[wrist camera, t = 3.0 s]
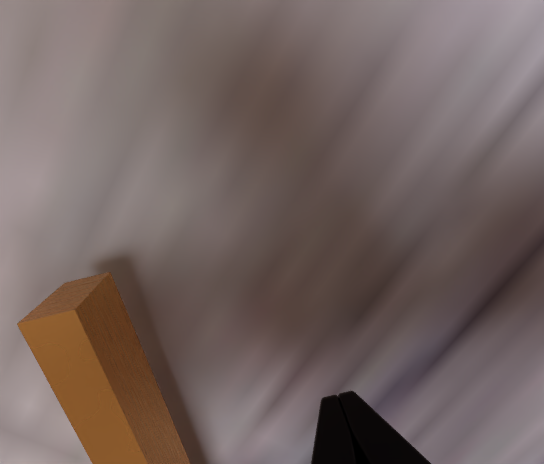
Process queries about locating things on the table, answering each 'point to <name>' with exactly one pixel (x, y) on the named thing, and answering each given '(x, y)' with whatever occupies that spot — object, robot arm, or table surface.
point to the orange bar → (102, 374)
